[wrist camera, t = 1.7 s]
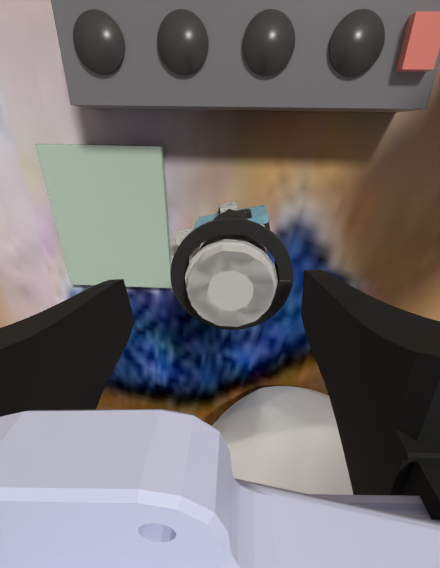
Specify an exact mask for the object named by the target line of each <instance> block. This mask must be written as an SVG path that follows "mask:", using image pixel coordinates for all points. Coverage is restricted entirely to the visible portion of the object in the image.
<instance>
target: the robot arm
mask: <svg viewBox="0 0 440 568" xmlns="http://www.w3.org/2000/svg"><path fill="white" fill-rule="evenodd" d="M301 315H302V320H303V324H304V329H305V333H306V336H307V339H308V342H309V344H310V347H311V349H312V352H313V354H314V357H315V359H316V362H317V364H318V367H319V369H320V372H321V374H322V377H323V379H324V382H325V385H326V388H327V391H328V394H329V397H330V401H331V405H332V408H333V412H334V416H335V419H336V423H337V427H338V431H339V435H340V439H341V443H342V447H343V451H344V456H345V460H346V464H347V468H348V473H349V477H350V481H351V486H352V491H353V495H328V494H305V493H301V492H296V491H291V490H287V489H282V488H277V487H273V486H268V485H264V484H259V483H254V482H250V481H245V480H240V479H236V478H234V476H233V473H232V465H231V455H230V450H229V448H228V446H227V444H226V442H225V440H224V439H223V437H222V435H221V433H220V431H219V430H217V429H216V428H214V427H213V426H211V425H210V424H208V423H206V422H205V421H203V420H201V419H200V418H198V417H196V416H195V415H193V414H189V413H183V412H177V411H172V410H166V409H113V410H96V407H97V405H98V402H99V399H100V397H101V395H102V392H103V390H104V388H105V386H106V384H107V382H108V380H109V378H110V376H111V374H112V372H113V370H114V368H115V366H116V364H117V362H118V360H119V358H120V356H121V354H122V352H123V350H124V348H125V346H126V344H127V342H128V340H129V337H130V334H131V331H132V327H133V324H134V318H133V314H132V310H131V306H130V302H129V298H128V294H127V290H126V287H125V283H124V279H115V280H107V281H104V282H102V283H99V284H97V285H95V286H93V287H91V288H89V289H87V290H85V291H83V292H81V293H79V294H77V295H75V296H73V297H71V298H69V299H67V300H65V301H63V302H61V303H59V304H57V305H55V306H53V307H51V308H49V309H47V310H45V311H43V312H40V313H38V314H36V315H33V316H31V317H29V318H26V319H24V320H21V321H19V322H16V323H13V324H11V325H8V326H5V327H2V328H0V568H440V322H439V321H435V320H432V319H429V318H425V317H422V316H419V315H416V314H413V313H410V312H407V311H404V310H402V309H399V308H396V307H394V306H391V305H389V304H386V303H384V302H382V301H379V300H377V299H375V298H373V297H371V296H369V295H367V294H365V293H363V292H361V291H359V290H357V289H355V288H353V287H351V286H350V285H348V284H346V283H344V282H343V281H341V280H339V279H337V278H336V277H334V276H332V275H330V274H329V273H327V272H325V271H322V270H304V281H303V297H302V314H301Z"/></svg>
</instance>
